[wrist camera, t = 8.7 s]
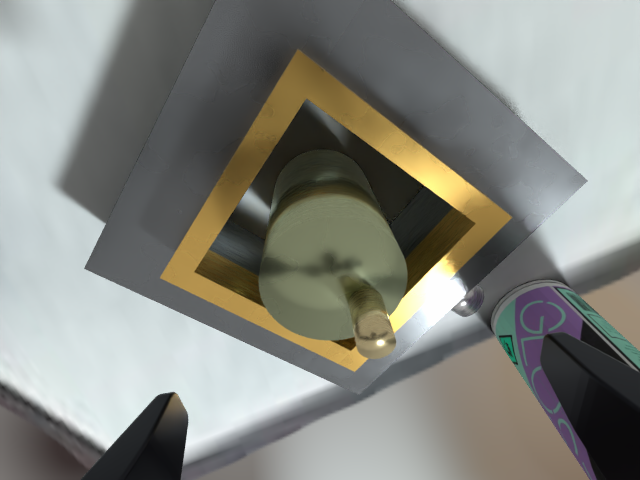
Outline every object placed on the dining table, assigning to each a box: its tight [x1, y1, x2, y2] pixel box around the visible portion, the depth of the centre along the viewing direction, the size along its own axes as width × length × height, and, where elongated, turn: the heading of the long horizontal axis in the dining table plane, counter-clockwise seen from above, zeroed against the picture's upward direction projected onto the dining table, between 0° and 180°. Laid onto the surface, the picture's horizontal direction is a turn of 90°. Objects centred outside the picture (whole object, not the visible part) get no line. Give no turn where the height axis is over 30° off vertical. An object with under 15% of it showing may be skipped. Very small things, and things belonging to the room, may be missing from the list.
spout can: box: [258, 149, 407, 359], centre depth 15 cm, size 5×5×10 cm
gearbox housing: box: [84, 0, 587, 395], centre depth 17 cm, size 18×16×6 cm
